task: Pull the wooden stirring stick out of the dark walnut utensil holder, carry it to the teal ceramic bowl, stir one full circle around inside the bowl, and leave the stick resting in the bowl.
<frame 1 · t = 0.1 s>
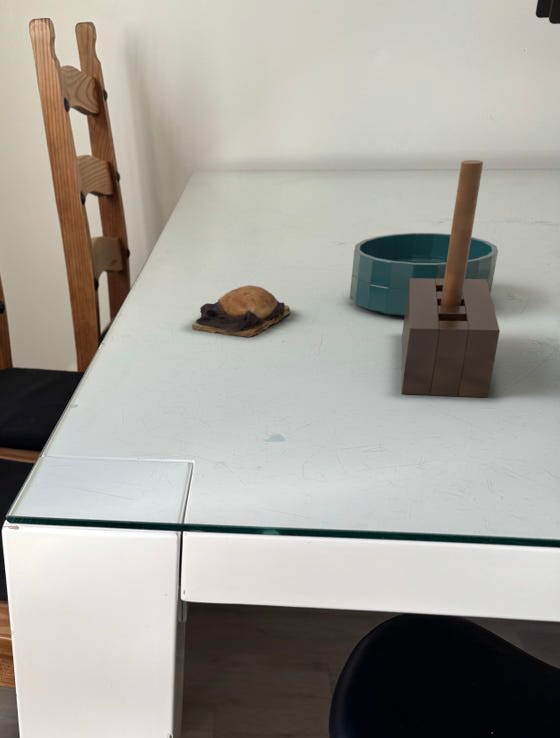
turtle figurine: (241, 322, 113), on the table
stick: (455, 268, 92), in the holder
bowl: (417, 302, 115), on the table
holder: (441, 364, 97), on the table
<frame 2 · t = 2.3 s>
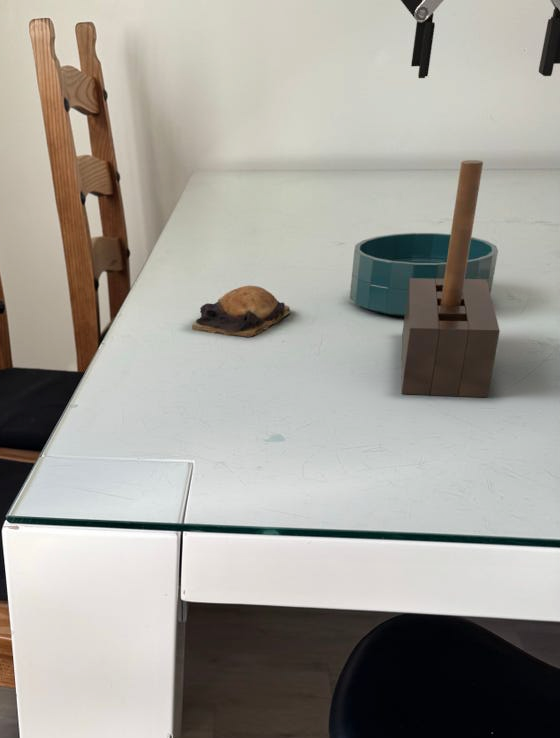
hand: (482, 75, 83), 25 cm above the table, tool pointing down, fingers open, 9 cm apart
nothing on the table moved.
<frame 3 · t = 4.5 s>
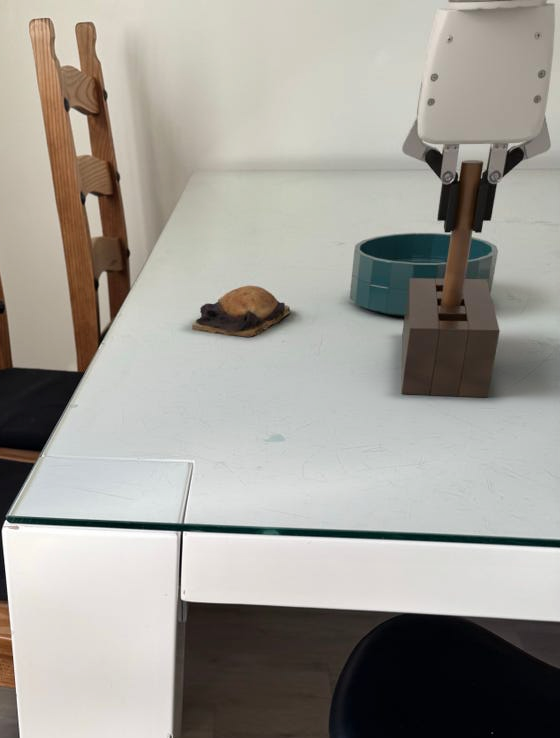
hand: (462, 228, 90), 13 cm above the table, tool pointing down, fingers closed on stick, 1 cm apart
stick: (456, 268, 92), in the holder, touching gripper
everything else where it was.
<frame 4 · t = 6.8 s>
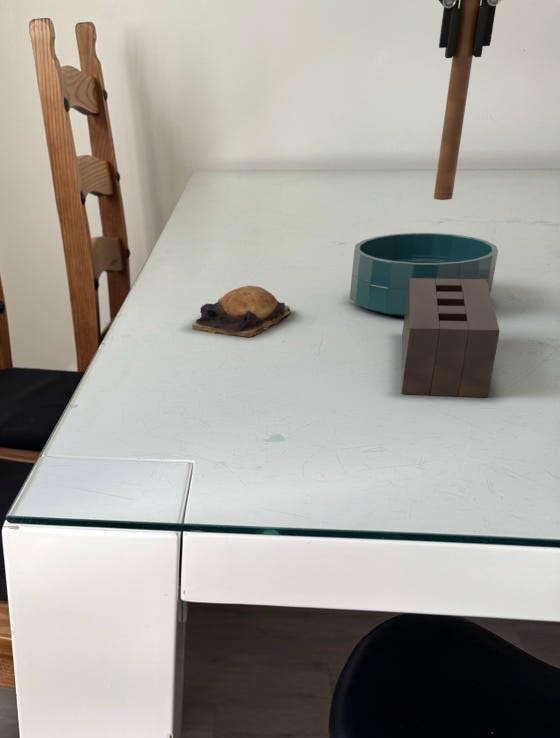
hand: (462, 54, 94), 25 cm above the table, tool pointing down, fingers closed on stick, 1 cm apart
stick: (456, 97, 96), point 22 cm above the table, touching gripper
everything else where it was.
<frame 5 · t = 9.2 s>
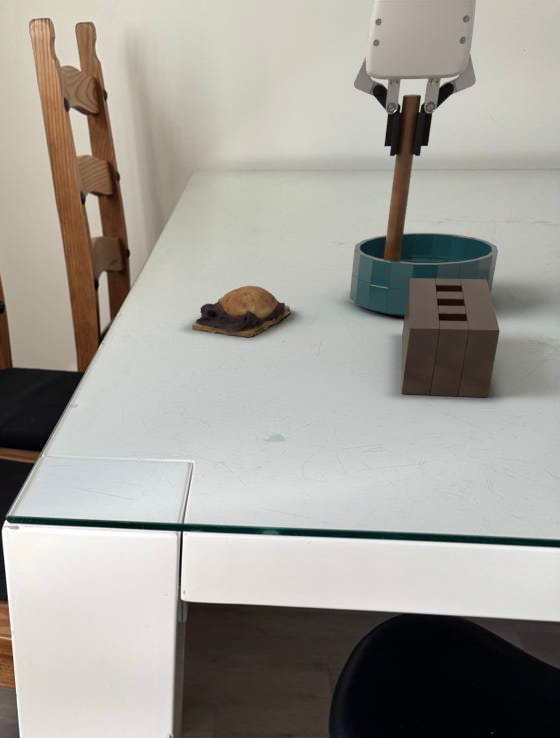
hand: (405, 152, 107), 16 cm above the table, tool pointing down, fingers closed on stick, 1 cm apart
stick: (400, 188, 109), point 12 cm above the table, touching gripper
everything else where it was.
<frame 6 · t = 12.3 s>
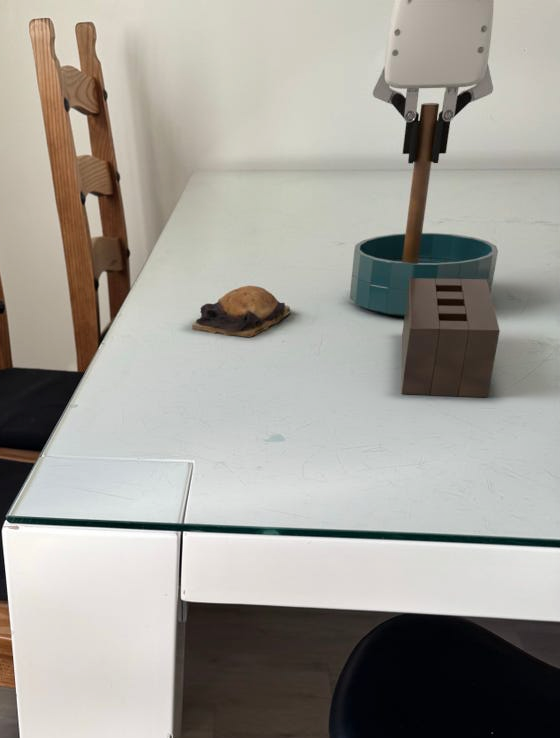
hand: (423, 160, 109), 15 cm above the table, tool pointing down, fingers closed on stick, 1 cm apart
stick: (418, 195, 111), point 11 cm above the table, touching gripper
everything else where it was.
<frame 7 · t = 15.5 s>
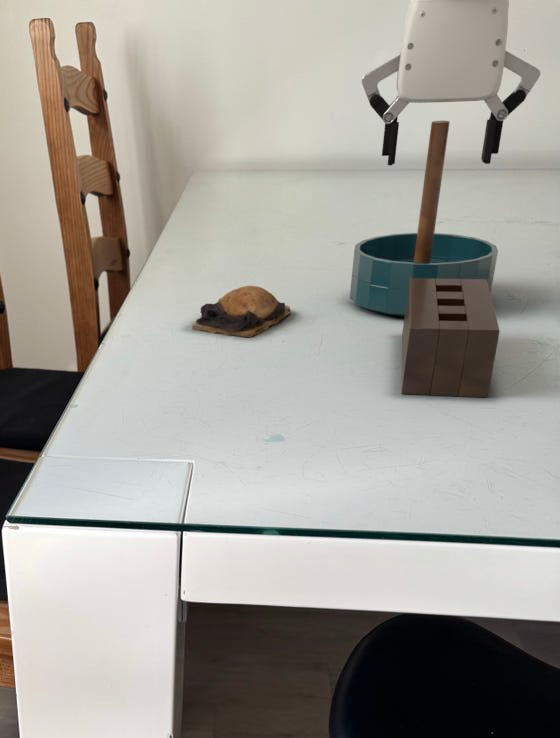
hand: (437, 162, 107), 15 cm above the table, tool pointing down, fingers open, 9 cm apart
stick: (428, 213, 110), in the bowl, point 10 cm above the table
everything else where it was.
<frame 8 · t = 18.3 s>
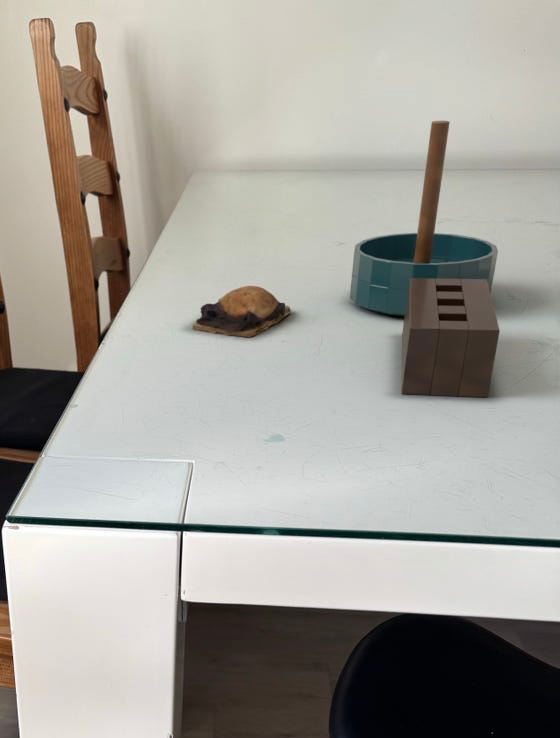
nothing on the table moved.
at the end: stick inside the target area in the bowl (0.1 cm from its centre), point 9.6 cm above the bowl's base; stick moved 22.1 cm from its start; the gripper is holding nothing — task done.
